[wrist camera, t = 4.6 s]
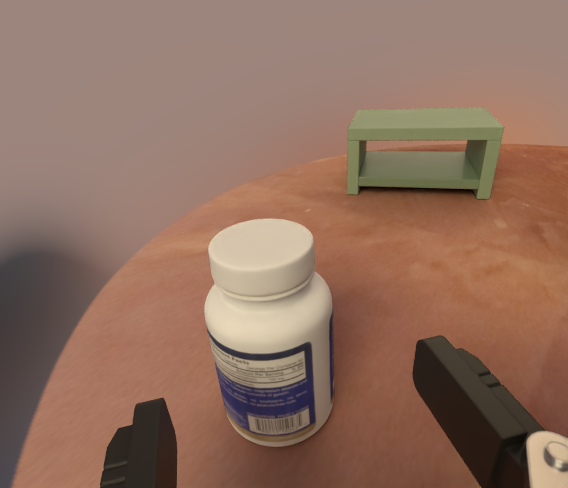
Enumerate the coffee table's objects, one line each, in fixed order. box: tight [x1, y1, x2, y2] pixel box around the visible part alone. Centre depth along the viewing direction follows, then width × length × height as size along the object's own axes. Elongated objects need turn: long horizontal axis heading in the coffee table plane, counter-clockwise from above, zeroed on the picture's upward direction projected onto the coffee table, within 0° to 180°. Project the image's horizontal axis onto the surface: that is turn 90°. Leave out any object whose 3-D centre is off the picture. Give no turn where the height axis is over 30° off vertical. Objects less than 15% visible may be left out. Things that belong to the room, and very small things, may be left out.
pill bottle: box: [204, 219, 334, 447], centre depth 16 cm, size 5×5×9 cm
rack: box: [347, 107, 504, 199], centre depth 42 cm, size 14×10×7 cm
